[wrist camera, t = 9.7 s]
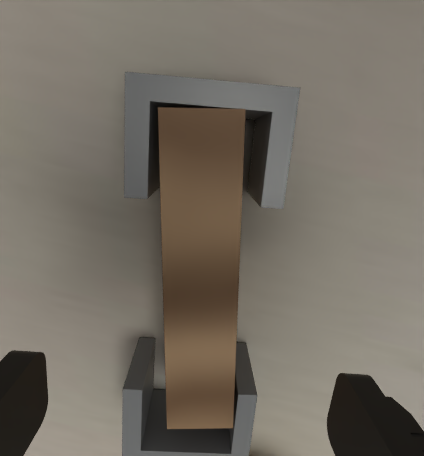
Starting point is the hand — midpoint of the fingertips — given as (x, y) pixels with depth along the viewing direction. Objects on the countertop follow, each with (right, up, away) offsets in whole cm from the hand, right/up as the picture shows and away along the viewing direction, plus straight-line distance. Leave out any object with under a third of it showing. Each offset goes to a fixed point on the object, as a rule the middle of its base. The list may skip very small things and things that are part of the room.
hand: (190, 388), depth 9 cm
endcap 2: (-1, -5, +13) cm, 14 cm away
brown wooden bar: (0, +3, +11) cm, 11 cm away
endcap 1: (0, +9, +9) cm, 13 cm away
